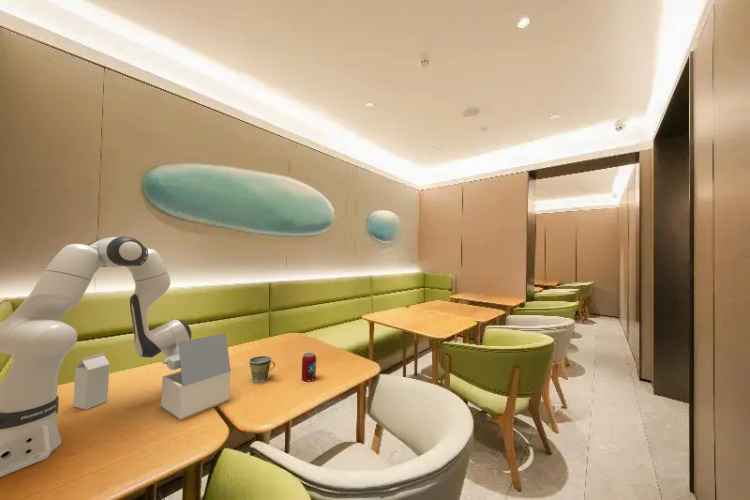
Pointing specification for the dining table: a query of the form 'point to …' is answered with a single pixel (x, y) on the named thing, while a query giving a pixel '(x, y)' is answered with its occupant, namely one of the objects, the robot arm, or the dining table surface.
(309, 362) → the beverage can
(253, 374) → the ceramic cup
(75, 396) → the milk carton
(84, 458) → the dining table surface
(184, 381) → the carton lid flap
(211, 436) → the dining table surface
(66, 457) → the dining table surface
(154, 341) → the robot arm
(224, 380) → the carton
